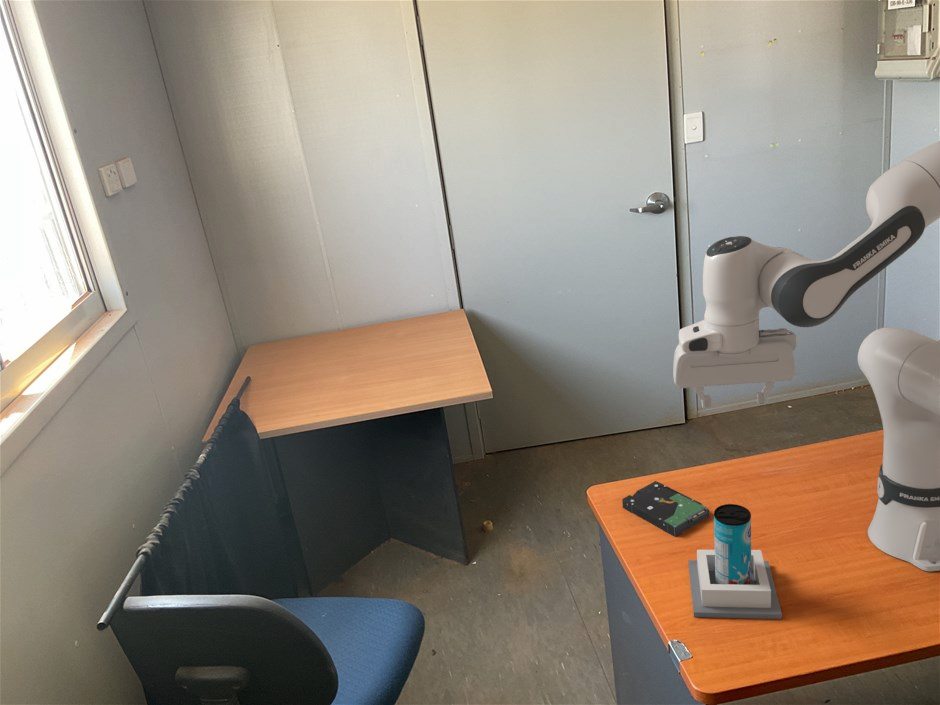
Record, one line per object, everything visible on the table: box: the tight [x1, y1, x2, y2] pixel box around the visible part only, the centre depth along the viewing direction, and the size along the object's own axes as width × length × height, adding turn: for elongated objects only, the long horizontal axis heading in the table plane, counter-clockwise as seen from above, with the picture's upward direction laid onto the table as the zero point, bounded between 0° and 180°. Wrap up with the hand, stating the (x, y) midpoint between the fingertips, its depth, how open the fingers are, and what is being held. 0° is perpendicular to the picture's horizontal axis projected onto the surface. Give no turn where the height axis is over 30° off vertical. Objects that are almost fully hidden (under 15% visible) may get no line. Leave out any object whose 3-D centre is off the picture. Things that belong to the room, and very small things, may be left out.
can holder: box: [687, 549, 783, 620], centre depth 134 cm, size 14×14×4 cm
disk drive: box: [621, 480, 710, 538], centre depth 159 cm, size 10×3×15 cm
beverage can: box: [713, 503, 752, 585], centre depth 132 cm, size 6×6×15 cm
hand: (734, 404), depth 136 cm, fingers open, 8 cm apart
